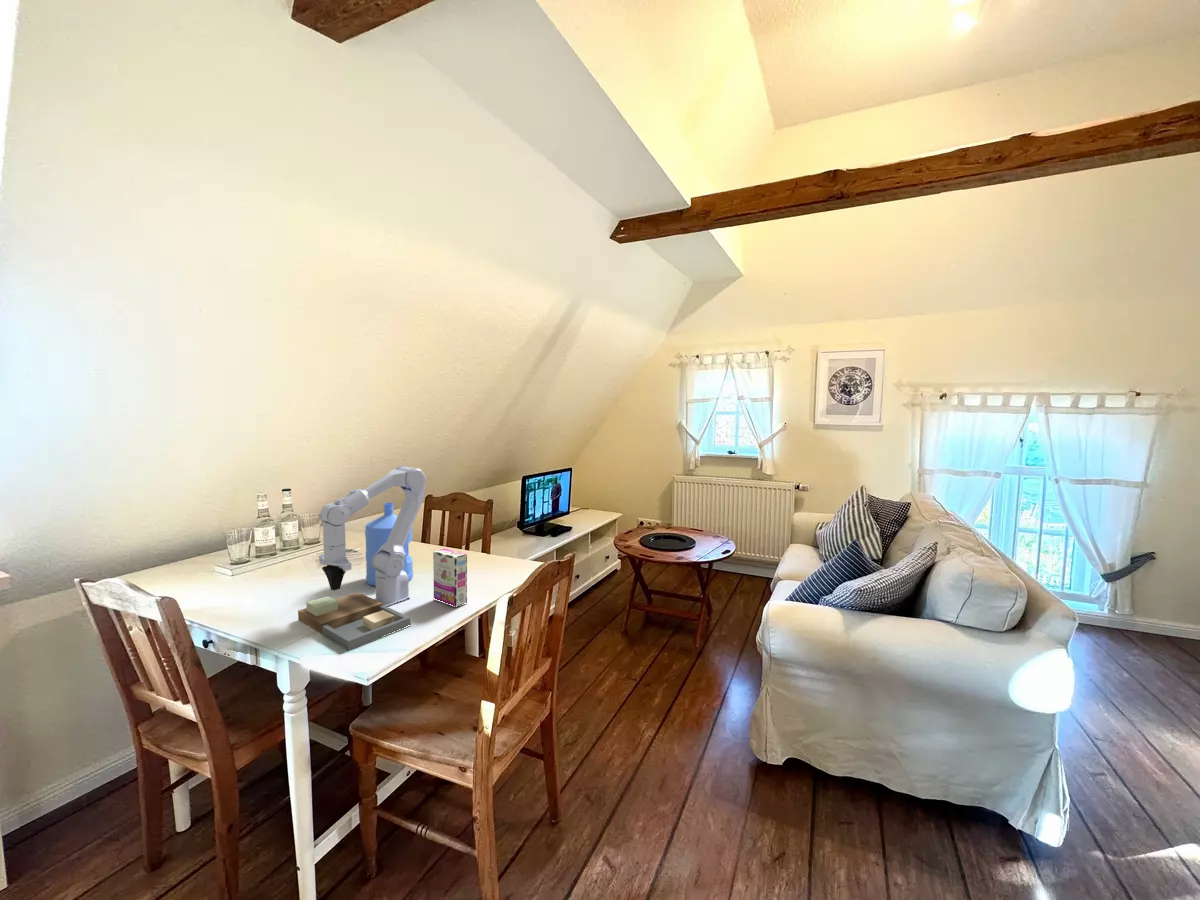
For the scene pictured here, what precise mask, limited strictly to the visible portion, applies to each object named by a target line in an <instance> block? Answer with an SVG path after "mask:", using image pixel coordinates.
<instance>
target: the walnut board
mask: <svg viewBox="0 0 1200 900" xmlns="http://www.w3.org/2000/svg"><path fill="white" fill-rule="evenodd" d="M334 600H336V601H338V610H334V611H331V612H328V613H325V614H322V615H319V616H315V615H313V614H312V613H310V612H308V611H307V607H305V608H302V609H299V610H297V615H298V616H297V617H298V618H297V619H298V620H299V622H300V623H302V624H303V623H304V624H303V625H305V626H307V627H308V626H309V629H312V630H314V631H315V632H317V633H319V634H320V635H322V626H324V625H328V626H330V627H332V628H334V629H335V628H338V627H340V626H343V625H346V624H349V623H352V622H355V621H358V620H360V619H363V617H364V616H367V615H370V614H373V613H376V612H379V611H380V606H383V603H381V602H379V601H376V600H374V598H372V597H369V596H367V595H365V594H363V593H361V592H355V593H352V594H349V595H346V596H342V597H339V598H334ZM298 620H297V621H298Z"/></svg>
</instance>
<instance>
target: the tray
mask: <svg viewBox="0 0 1200 900" xmlns="http://www.w3.org/2000/svg"><path fill="white" fill-rule="evenodd" d="M382 610H384V611H386V612H388V613H390V614H392V615H394V617H395V622H392V623H390V624H387V625H384V626H382V627H379V628H376V629H374V630H371V629H369V628H367V627H366V626H364V625H363V619H360V620H358V621H355V622H352V623H349V624H346V625H343V626H340V627H338V628H335V629H334V628H332V627H330V626H328V625H324V626H322V634H321V635H322V636H323V637H325V638H327V639H328V640H330V641H332V642H334V643H335V644H337V645H339V646H340V647H342V648H343V649H345V650H346V651H351V650H353V649H357V648H359V647H361V646H364V645H366V644H368V642H369V643H371V642H370V641H372V640H374V641H376V640H375V639H377V638H379V639H381V638H380V637H382V636H384V635H387V634H389V633H392V632H394V631H397V630H399V629H402V628H404V627H406V626H408V625H411V626H412V620H411V617H410V616H408V615H406V614H404V613H401V612H399V611H397V610H395V609H393V608H391V607H389V606H384V605H383V606H380V611H382ZM404 629H405V628H404ZM402 630H403V629H402ZM399 631H400V630H399ZM397 632H398V631H397ZM394 633H395V632H394ZM392 634H393V633H392ZM389 635H390V634H389ZM387 636H388V635H387ZM384 637H385V636H384ZM382 638H383V637H382ZM377 640H378V639H377ZM372 642H373V641H372ZM365 643H366V644H365ZM363 644H364V645H363Z"/></svg>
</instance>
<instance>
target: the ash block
mask: <svg viewBox="0 0 1200 900" xmlns="http://www.w3.org/2000/svg"><path fill="white" fill-rule="evenodd" d="M392 622H395V617H394V615H392V614H390V613H388V612H386V611H384V610H382V611H379V612H376V613H373V614H370V615H367V616H364V617H363V625H364V626H366V627H367V628H369V629H371V630H374V629H376V628H379V627H382V626H384V625H387V624H390V623H392Z"/></svg>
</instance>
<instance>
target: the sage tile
mask: <svg viewBox="0 0 1200 900" xmlns="http://www.w3.org/2000/svg"><path fill="white" fill-rule="evenodd" d="M306 608H307V611H308V612H310V613H312V614H313V615H315V616H319V615H322V614H325V613H328V612H331V611H334V610H338V601H336V600H335V598H332V597H330V596H324V597H321V598H317V599H314V600H310V601H307V602H306Z"/></svg>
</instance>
